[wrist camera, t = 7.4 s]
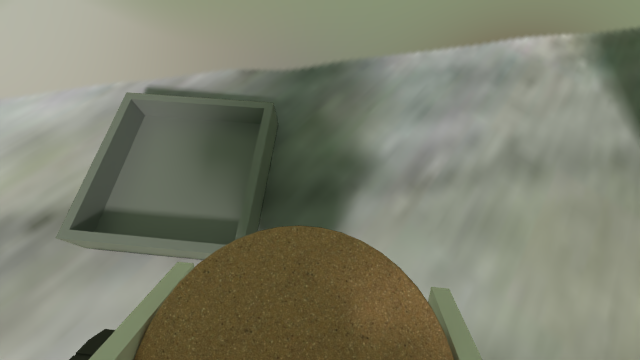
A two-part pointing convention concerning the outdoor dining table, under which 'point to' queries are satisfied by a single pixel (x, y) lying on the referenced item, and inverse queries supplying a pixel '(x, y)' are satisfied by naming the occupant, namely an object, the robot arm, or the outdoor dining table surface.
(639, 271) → the outdoor dining table surface
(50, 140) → the outdoor dining table surface
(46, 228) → the outdoor dining table surface
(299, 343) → the lidded jar
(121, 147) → the bin
